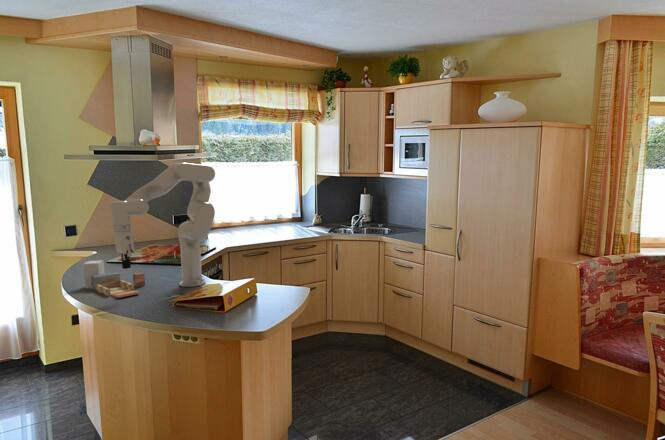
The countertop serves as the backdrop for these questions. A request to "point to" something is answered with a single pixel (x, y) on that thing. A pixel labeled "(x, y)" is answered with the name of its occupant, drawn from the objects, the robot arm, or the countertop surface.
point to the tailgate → (125, 294)
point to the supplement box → (92, 271)
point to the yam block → (138, 279)
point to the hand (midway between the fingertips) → (126, 268)
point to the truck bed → (110, 284)
